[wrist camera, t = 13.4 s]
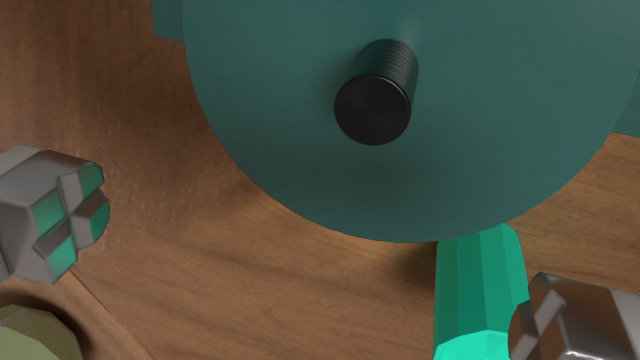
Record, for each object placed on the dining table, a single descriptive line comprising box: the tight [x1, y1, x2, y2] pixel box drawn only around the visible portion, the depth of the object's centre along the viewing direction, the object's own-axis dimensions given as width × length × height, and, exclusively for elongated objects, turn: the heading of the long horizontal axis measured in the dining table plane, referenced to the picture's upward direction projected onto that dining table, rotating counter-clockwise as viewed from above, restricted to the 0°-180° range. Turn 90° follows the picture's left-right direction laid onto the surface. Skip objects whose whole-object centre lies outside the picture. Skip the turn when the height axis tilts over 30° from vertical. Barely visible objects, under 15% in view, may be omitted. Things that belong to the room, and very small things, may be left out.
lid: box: [182, 0, 640, 243], centre depth 16 cm, size 17×17×5 cm
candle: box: [432, 223, 530, 360], centre depth 29 cm, size 6×6×12 cm
